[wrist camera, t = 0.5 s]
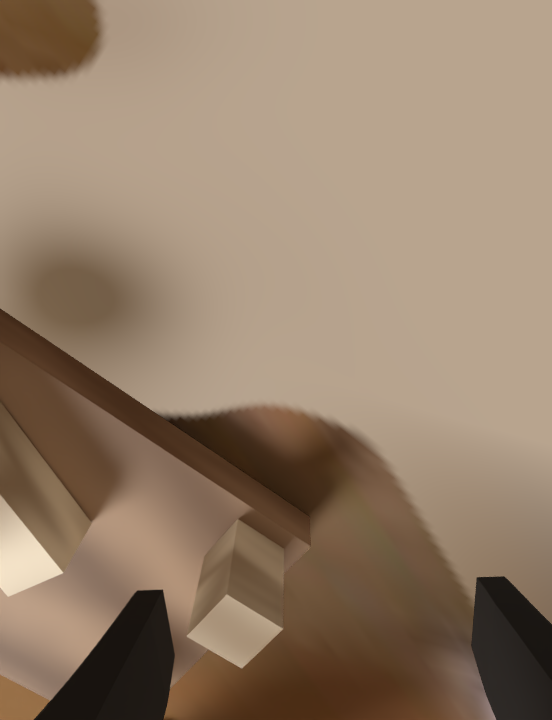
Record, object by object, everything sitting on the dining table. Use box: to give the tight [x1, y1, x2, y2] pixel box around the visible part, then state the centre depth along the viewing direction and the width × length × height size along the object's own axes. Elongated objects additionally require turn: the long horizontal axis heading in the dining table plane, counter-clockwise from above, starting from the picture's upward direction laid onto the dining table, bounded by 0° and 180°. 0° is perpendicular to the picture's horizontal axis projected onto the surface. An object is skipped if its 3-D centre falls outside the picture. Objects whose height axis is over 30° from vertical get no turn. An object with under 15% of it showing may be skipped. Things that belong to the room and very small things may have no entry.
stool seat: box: [0, 309, 311, 701], centre depth 20 cm, size 15×19×6 cm
